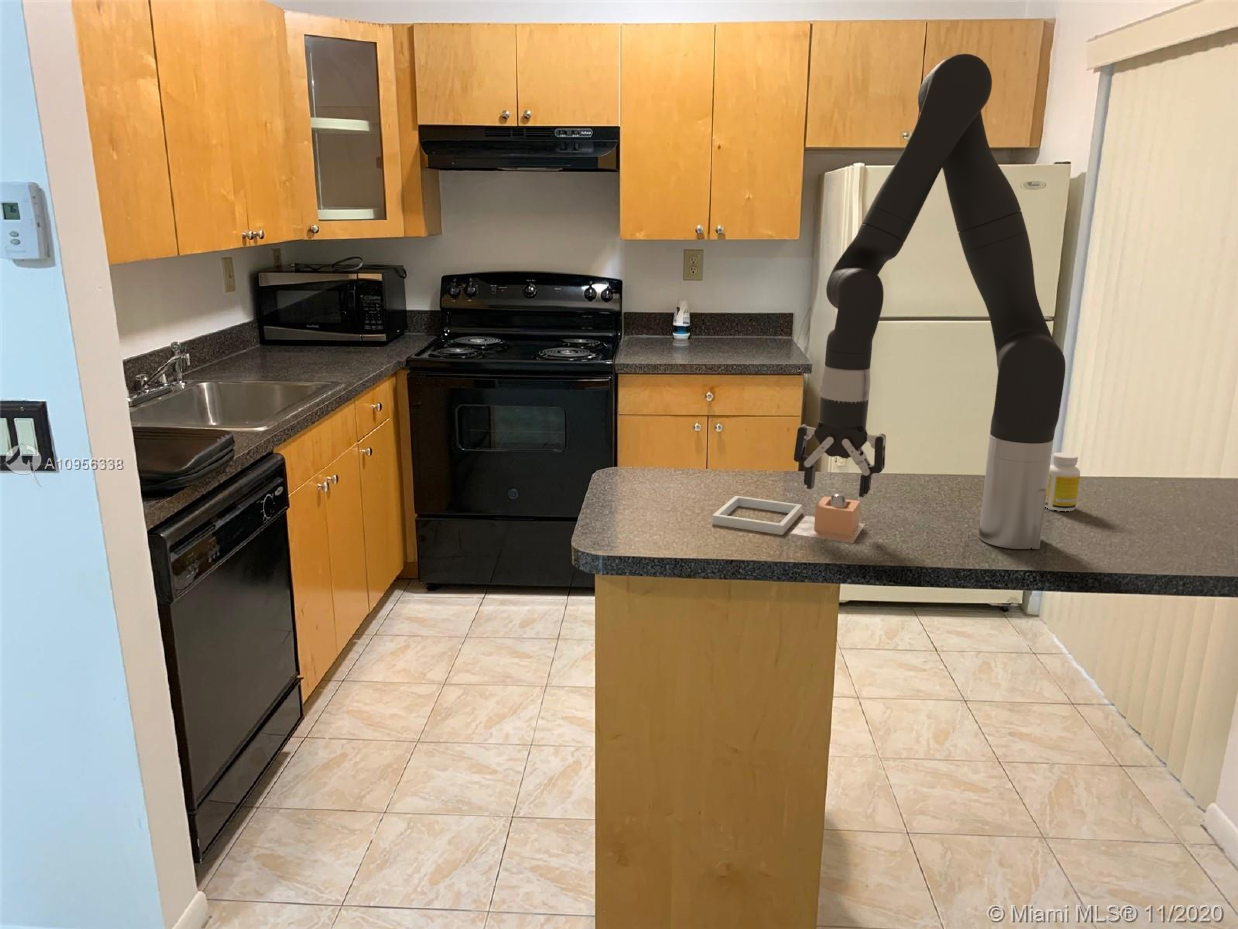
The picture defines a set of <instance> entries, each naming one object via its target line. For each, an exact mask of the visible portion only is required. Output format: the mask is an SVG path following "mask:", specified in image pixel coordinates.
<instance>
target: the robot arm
mask: <svg viewBox="0 0 1238 929" xmlns="http://www.w3.org/2000/svg"><path fill="white" fill-rule="evenodd" d="M992 87H993V79H992V74H991V71H990V68H989V66H988V65H987V63H986V62H985V61H984V60H983V59H982V58H981V57H979V56H976V55H975V54H971V53H959V54H958V53H957V54H955V55H952V56H951V55H950V57H947V58H946V59H943V60H942V61H941V62H940V63H937V65H936V66H935V67H933V68H932V70H931V71H930V72H929V73H928V74H927V75H926V76H925V78H924V79H923V81H922V83H921V85H920V86H919V89H918V90H919V91H918V94H917V104H918V109H919V115H918V119H917V122H916V123H915V124H916V125H915V126H914V129H913V131H912V132H911V135H910V137H909V139H908V141H907V143H906V146H904V149H903V151H902V152H901V154H900V156H899V158H898V159H897V161H896V162H895V164H894V166H893V167H892V168H891V170H890V171H889V174H887V176H886V179H885V180H884V182H883V184H882V185H881V187H880V188H879V190H878V192H877V194H876V195H875V197H874V199H873V201H872V202H871V205H870V207H869V209H868V210H867V213H866V215H865V216H864V218H863V220H862V223H861V225H860V226H859V229H858V232H857V233H856V236H855V237H854V238H853V239H852V241H851V243H850V244H849V245H848V246H847V247H846V249H845V251H844V252H843V253H842V254H841V256H840V258H839V259H838V261H837V262H836V263H835V265H834V267H833V268H832V270H831V272H830V275H829V277H828V280H827V283H826V287H825V288H826V297H827V301H828V302H829V303H830V304H831V306H832V307H834V308H835V309H836V310H837V313H836V318H835V324H834V329H832V330H830V332H829V334H828V335H827V338H826V346H825V358H824V366H823V367H824V368H823V374H822V376H821V384H820V387H819V388H820V389H819V393H820V399H819V409H818V421H817V426H816V427H813V426H809V424H807V423H804V424H802V425H801V426H799V427H798V428H797V433H796V440H795V446H794V454H793V460H794V461H795V462H796V463H800V464H802V465H803V466H804V472H803V473H804V474H803V484H804V486H806V489H807V490H813V488H815V482H816V471H817V470H816V469H817V468H816V467H817V465H815V463H816V462H817V461H818V459H819V458H821V456H823V454H824V453H825V454H826V455H827V456H828V457H832V458H833V457H839V458H842V459H846V460H847V459H848V460H849V459H850V458H851V459H852V461H853V462H854V463H855V465H856V466H858V469H859V470H860V472H861V473H862V474H861V475H860V480H859V490H858V497H860V498H864V497H865V496H866V495H868V494H869V493H870V490H871V485H872V478H873V475H874V474H880V473H882V471H884V469H885V466H886V465H885V464H886V443H887V442H886V441H887V437H886V436H887V435H886V434H884V433H880V434H868V432H867V423H868V422H867V420H868V410H869V399H870V390H871V362H872V352H873V340H874V336H875V334H876V331H877V328H878V324H879V320H880V316H881V315H882V314H881V313H882V311H883V310H882V309H883V304H884V298H885V297H884V294H885V293H884V286H883V282H882V279H881V278H880V276H879V274H880V272H881V270H882V269H883V268H884V266H885V264H886V263H887V262H888V261H890V260H893V259H894V258H896V257H897V256H898V255H899V253H900V252H901V250H902V248H903V246H904V243H905V242H906V240H907V239H908V236H909V234H910V233H911V230H912V228H913V227H914V224H915V222H916V221H917V219H918V216H919V214H920V212H921V211H922V208H923V207H924V204H925V202H926V200H927V199H928V196H929V194H930V192H931V190H932V188H933V186H934V184H935V182H936V180H937V178H938V176H939V174H940V172H941V170H942V173H943V176H944V181H945V185H946V190H947V195H948V199H949V202H950V206H951V211H952V214H953V218H954V222H955V226H956V229H957V234H958V236H959V237H958V238H959V242H960V244H961V247H962V251H963V254H964V257H965V261H966V263H967V265H968V268H969V271H970V274H971V276H972V278H973V281H974V283H975V285H976V287H977V290H978V292H979V293H980V296H981V298H982V300H983V302H984V304H985V308H986V311H987V312H988V317H989V320H990V325H991V331H992V336H993V341H994V342H993V343H994V347H995V348H994V349H995V356H996V365H997V378H996V379H997V381H996V390H995V398H994V407H993V411H992V412H993V413H992V417H991V421H990V431H989V441H988V447H987V458H986V467H985V475H984V484H983V493H982V500H981V509H980V510H981V511H980V518H979V527H978V529H979V530H978V538H979V539H980V540H981V541H983V542H985V543H986V544H989V545H991V546H994V547H995V546H996V547H1000V548H1004V549H1012V550H1028V549H1029V550H1030V549H1031V548H1032V550H1033V549H1034V550H1040V548H1041V540H1042V535H1043V534H1042V533H1043V524H1044V517H1045V509H1046V508H1045V503H1046V496H1047V486H1048V478H1049V470H1050V465H1051V463H1052V462H1051V461H1052V460H1051V459H1052V456H1053V445H1054V439H1055V431H1056V428H1057V425H1058V422H1059V418H1060V412H1061V405H1062V400H1063V398H1062V397H1063V392H1064V386H1065V384H1064V383H1065V377H1066V359H1065V355H1064V352H1063V351H1062V349H1061V347H1060V346H1059V345H1058V344H1057V343H1056V341H1055V340H1054V338H1053V335H1052V333H1051V330H1050V329H1049V327H1048V324H1047V322H1046V319H1045V317H1044V314H1043V311H1042V308H1041V306H1040V302H1039V299H1038V295H1037V290H1036V283H1035V271H1034V270H1035V269H1034V262H1033V255H1032V247H1031V243H1030V239H1029V234H1028V230H1027V226H1026V222H1025V219H1024V216H1023V212H1022V209H1021V206H1020V202H1019V201H1018V197H1017V195H1016V193H1015V191H1014V189H1013V187H1012V185H1011V184H1010V182H1009V180H1008V178H1007V176H1006V175H1005V173H1004V172H1003V171H1002V169H1001V167H1000V165H999V164H998V163H997V160H996V159H995V157H994V155H993V153H992V151H991V148H990V145H989V141H988V139H987V133H986V129H985V124H984V120H983V114H982V110H983V108H985V106H986V104H987V103H988V101H989V98H990V96H991V92H992ZM812 435H813V436H814V437H815V439H816V440H817V442H818V444H819V446H818V447H817V448H816V449H815V450H814V451H813V452H812V453H811V454H810V455H807V454H806V448H807V444H808V440H810V439H811V438H812V437H813V436H812ZM867 442H868V443H870V447H871V449H874V457H873V459H874V461H873V464H871V462H870V461H869V459H868V456H867V454H866V453H865V451H864V449H863V448H862V447H863V446H864V445H866V443H867Z"/></svg>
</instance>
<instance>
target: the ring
mask: <svg viewBox="0 0 1238 929" xmlns="http://www.w3.org/2000/svg"><path fill="white" fill-rule="evenodd" d="M830 505H831V496H823V497H822V498H821V500H819V502H818V503H817V504H816V505H815V507H814V508H815V511H814V517H815V522H814V530H820V531H827V532H833V533H840V534H847V535H851V534H852V533H853V531H854V530H855V529H856V527H857V526H858V524H859V523H860V508H861V501H860V500H856V499H855V500H853V499H847V498H846V506H845V508H841V507H833V506H830Z"/></svg>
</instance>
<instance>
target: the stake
mask: <svg viewBox="0 0 1238 929" xmlns="http://www.w3.org/2000/svg"><path fill="white" fill-rule="evenodd" d="M830 497H831V505H830V506H833V507H841V508H845V506H846V499H847V494H845V493H844V492H843V493H841V492H832V493H831V494H830ZM814 522H815V516H812V515H805V516H804V517H803V518H802V519H801V521H800V522H799V523H797V525H796V527H794V529H793V530H792V531H791V532H790V534H791V535H797V536H802V537H809V538H817V539H823V540H828V541H829V540H830V541H836V542H843V543H848V544H853V543H854V542H855V540H856V539H857V537H858V536H859V535H860V533H861V531H862V530H863V529H864V527H865V525H866V523H861V522H859V524H858V526H857V527H856V529H855V530H854V531H853V533H852V534H851V535H847V534H840V533H833V532H827V531H820V530H814Z"/></svg>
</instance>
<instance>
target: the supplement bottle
mask: <svg viewBox="0 0 1238 929" xmlns="http://www.w3.org/2000/svg"><path fill="white" fill-rule="evenodd" d="M1051 459H1052V460H1051V461H1052V462H1051V463H1053V464H1050V470H1049V478H1048V486H1047V496H1046V503H1045V507H1046V508H1045V509H1047V508H1048V509H1047V510H1050V511H1054V510H1057V511H1056V512H1060V511H1065V512H1064V513H1067V512H1066V511H1069V512H1072V511H1075V509H1076V505H1077V500H1078V499H1077V498H1078V492H1079V484H1080V477H1081V470H1080V469H1079V467H1076V465H1077V463H1078V459H1079V456H1078V455H1077V454H1074V453H1070V452H1054V453H1052V458H1051Z"/></svg>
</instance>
